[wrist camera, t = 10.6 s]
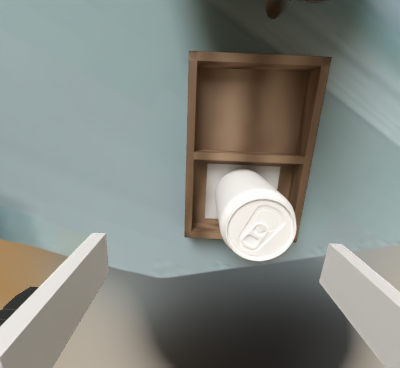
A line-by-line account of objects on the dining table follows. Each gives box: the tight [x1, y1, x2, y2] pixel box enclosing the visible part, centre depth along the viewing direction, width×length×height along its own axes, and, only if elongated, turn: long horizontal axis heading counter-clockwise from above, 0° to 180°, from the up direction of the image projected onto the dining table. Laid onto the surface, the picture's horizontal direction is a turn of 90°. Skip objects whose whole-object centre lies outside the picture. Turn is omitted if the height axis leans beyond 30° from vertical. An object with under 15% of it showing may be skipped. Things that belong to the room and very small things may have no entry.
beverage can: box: [215, 169, 296, 261], centre depth 27 cm, size 8×8×12 cm
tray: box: [185, 51, 332, 242], centre depth 30 cm, size 17×25×4 cm
